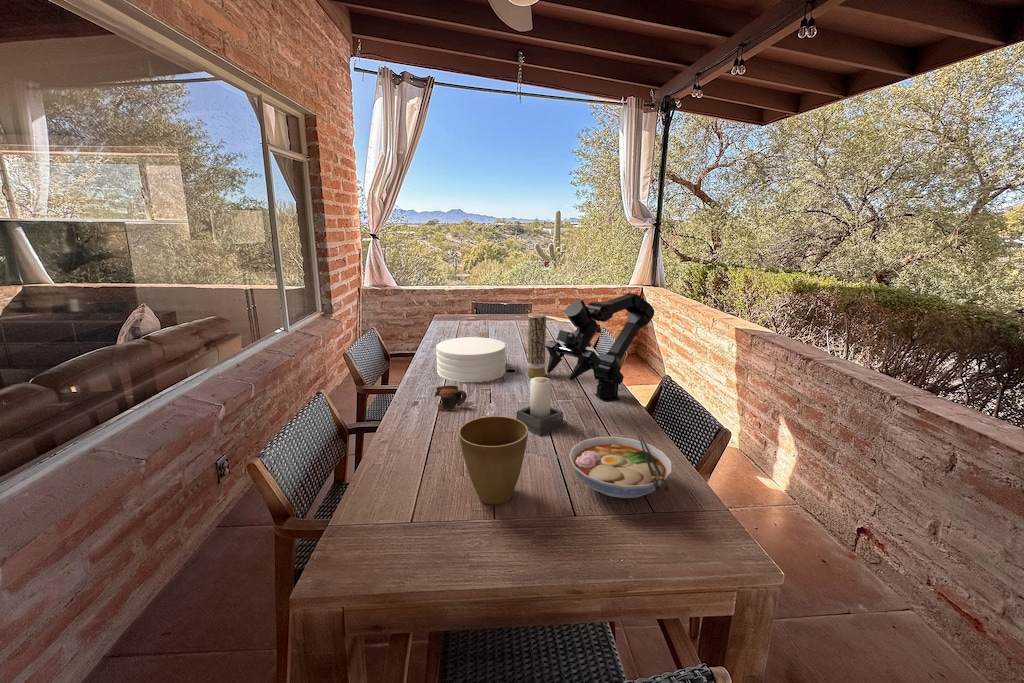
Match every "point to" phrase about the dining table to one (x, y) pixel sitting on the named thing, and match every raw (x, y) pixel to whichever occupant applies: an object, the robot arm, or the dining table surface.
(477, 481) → the plant pot
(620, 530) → the dining table surface
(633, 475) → the ramen bowl
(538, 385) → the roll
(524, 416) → the holder
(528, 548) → the dining table surface
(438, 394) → the pottery mug
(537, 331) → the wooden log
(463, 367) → the plate stack
